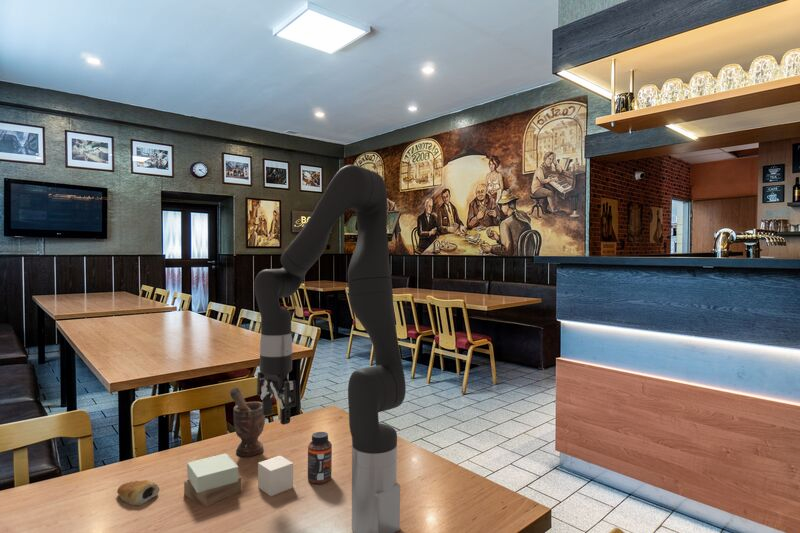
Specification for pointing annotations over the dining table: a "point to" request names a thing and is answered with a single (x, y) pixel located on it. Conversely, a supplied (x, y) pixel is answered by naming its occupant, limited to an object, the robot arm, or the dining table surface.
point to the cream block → (275, 475)
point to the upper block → (212, 472)
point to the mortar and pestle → (247, 424)
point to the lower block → (211, 492)
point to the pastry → (138, 492)
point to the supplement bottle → (319, 458)
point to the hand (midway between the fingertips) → (275, 418)
